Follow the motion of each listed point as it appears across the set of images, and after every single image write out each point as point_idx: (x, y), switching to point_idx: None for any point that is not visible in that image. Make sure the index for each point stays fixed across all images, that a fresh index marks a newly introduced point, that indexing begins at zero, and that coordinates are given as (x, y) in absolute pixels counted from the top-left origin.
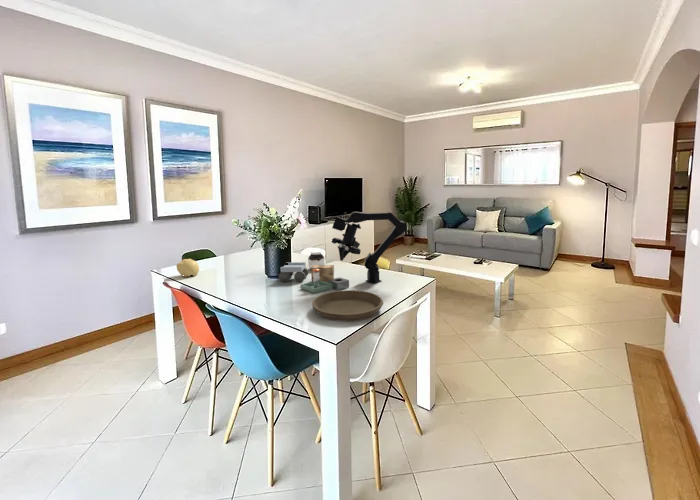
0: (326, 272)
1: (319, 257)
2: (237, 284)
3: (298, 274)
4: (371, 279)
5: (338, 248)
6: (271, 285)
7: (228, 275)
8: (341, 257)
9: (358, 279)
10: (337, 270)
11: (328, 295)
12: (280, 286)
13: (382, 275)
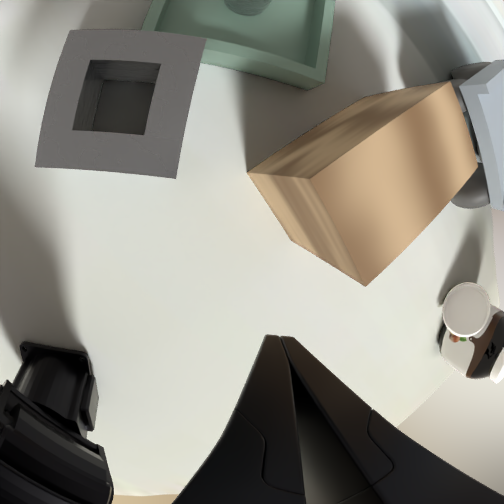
0: (333, 139)
1: (483, 353)
2: (490, 21)
3: (454, 85)
4: (36, 363)
5: (485, 493)
6: (444, 17)
7: None
8: (264, 369)
9: (160, 360)
10: (380, 379)
11: None
12: (418, 7)
13: (132, 460)
